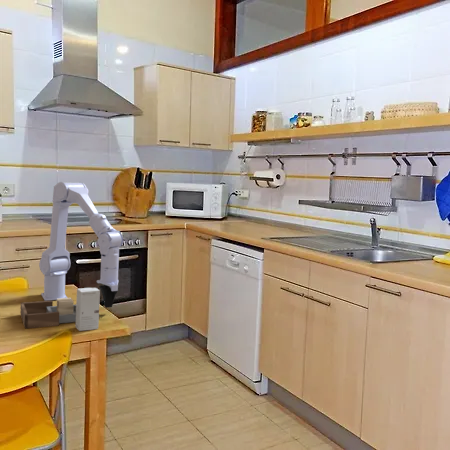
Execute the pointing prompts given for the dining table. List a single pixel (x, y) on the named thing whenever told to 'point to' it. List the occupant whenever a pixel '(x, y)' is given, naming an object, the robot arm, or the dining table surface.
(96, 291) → the skincare box
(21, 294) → the dining table surface
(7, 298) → the dining table surface
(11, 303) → the dining table surface
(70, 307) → the birch block
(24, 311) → the dock
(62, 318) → the tray
